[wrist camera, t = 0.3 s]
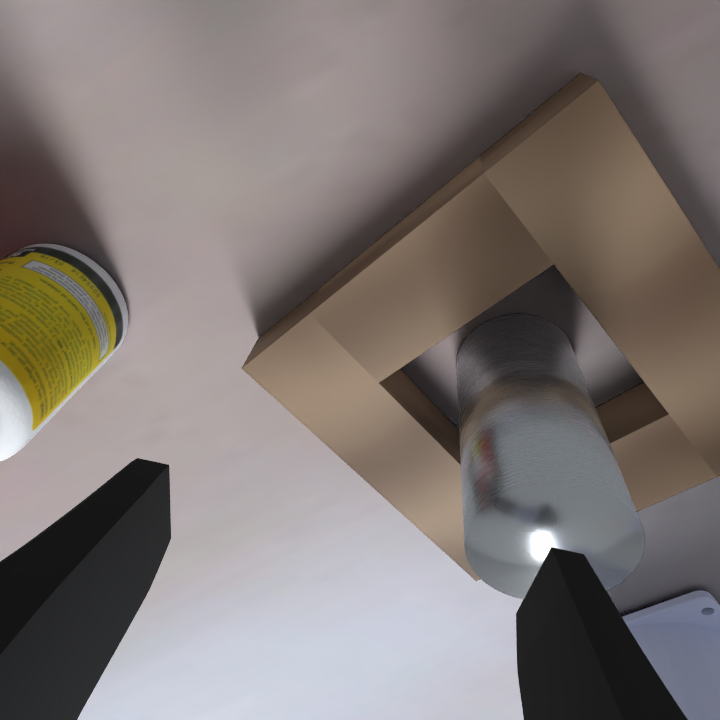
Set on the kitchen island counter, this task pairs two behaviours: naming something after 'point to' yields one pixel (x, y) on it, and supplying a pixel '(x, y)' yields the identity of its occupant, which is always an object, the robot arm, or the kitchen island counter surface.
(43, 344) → the supplement bottle
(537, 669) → the robot arm
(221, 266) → the kitchen island counter surface
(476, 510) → the peg
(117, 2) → the kitchen island counter surface
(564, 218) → the pocket block
